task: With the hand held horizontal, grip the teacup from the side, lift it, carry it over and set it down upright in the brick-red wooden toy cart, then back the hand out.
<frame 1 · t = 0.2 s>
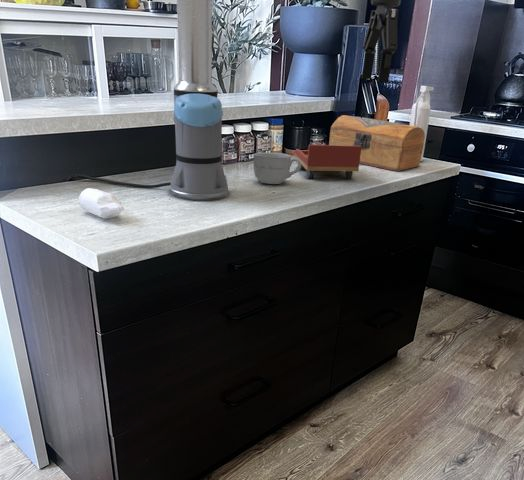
hand: (374, 80, 144), 28 cm above the worktop, tool pointing down, fingers open, 13 cm apart
teacup: (275, 183, 154), on the worktop
roll: (106, 218, 118), on the worktop
cart: (324, 174, 167), on the worktop
wooden box: (371, 162, 188), on the worktop
white spray bottle: (411, 161, 194), on the worktop
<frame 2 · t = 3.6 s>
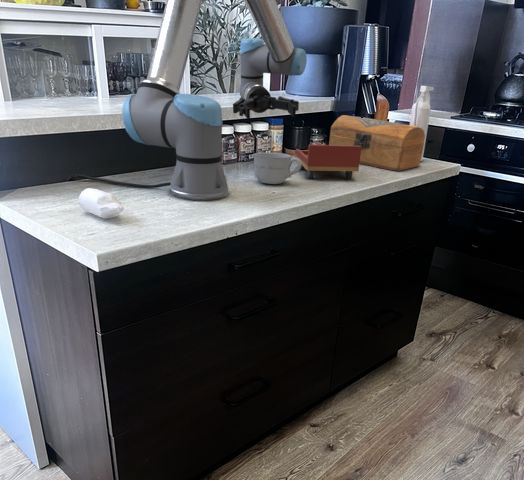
hand: (271, 112, 151), 18 cm above the worktop, tool horizontal, fingers open, 13 cm apart
nothing on the worktop moved.
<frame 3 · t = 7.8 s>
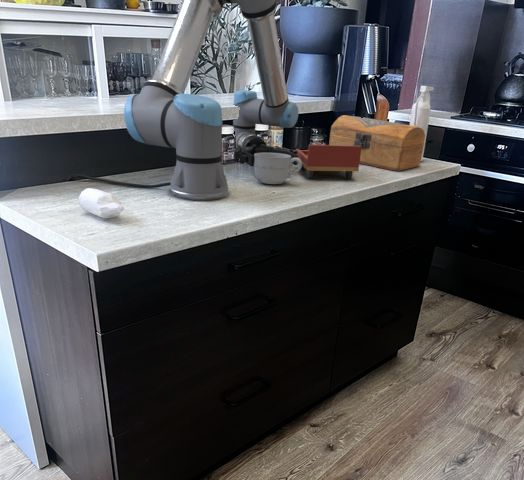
hand: (274, 160, 152), 6 cm above the worktop, tool horizontal, fingers open, 13 cm apart
teacup: (276, 183, 153), on the worktop, touching gripper
everything else where it was.
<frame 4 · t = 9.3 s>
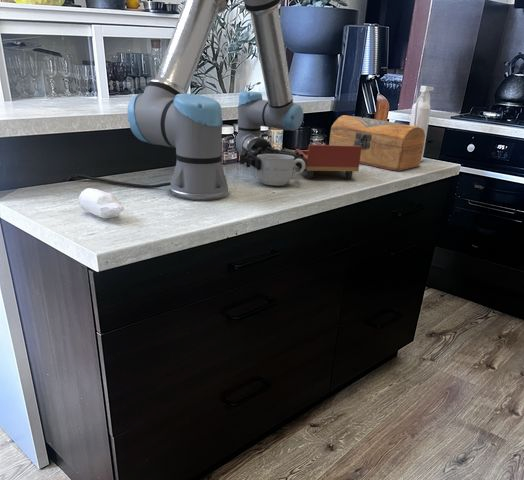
hand: (281, 164, 148), 6 cm above the worktop, tool horizontal, fingers closed on teacup, 12 cm apart
teacup: (279, 185, 152), on the worktop, touching gripper
everything else where it was.
when the fingers open (10 cm above the worktop, at t = 19.4 s): teacup stays where it is, resting on cart.
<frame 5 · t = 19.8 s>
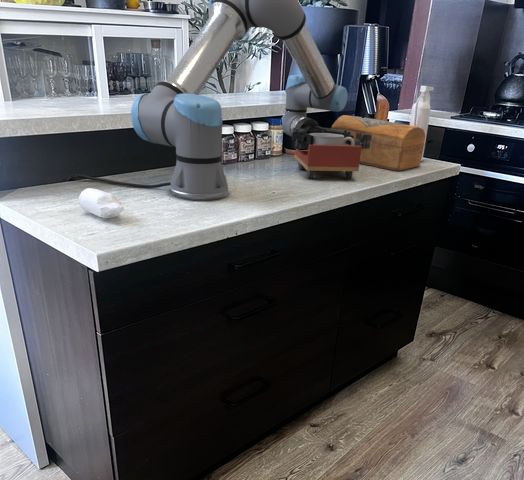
hand: (332, 140, 159), 11 cm above the worktop, tool horizontal, fingers open, 13 cm apart
teacup: (328, 162, 164), point 4 cm above the worktop, touching cart
everything else where it was.
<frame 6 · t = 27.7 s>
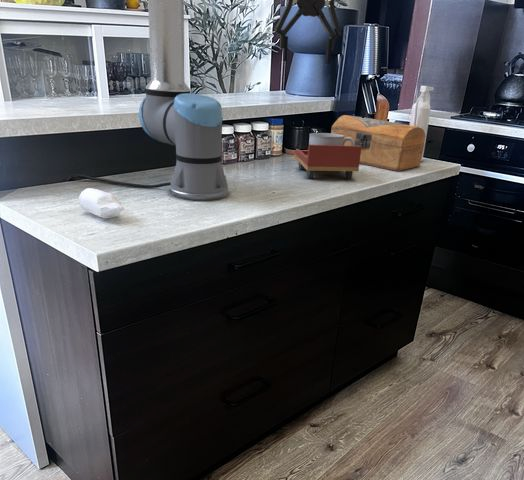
hand: (305, 62, 161), 31 cm above the worktop, tool pointing down, fingers open, 13 cm apart
nothing on the worktop moved.
at the end: teacup inside the target area on the cart (1.9 cm from its centre), point 4.0 cm above the cart's base; teacup tilted 0°; teacup touching cart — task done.
